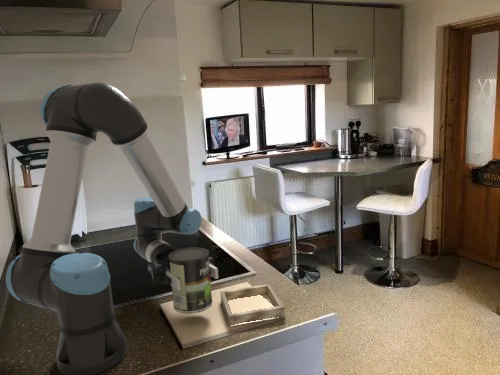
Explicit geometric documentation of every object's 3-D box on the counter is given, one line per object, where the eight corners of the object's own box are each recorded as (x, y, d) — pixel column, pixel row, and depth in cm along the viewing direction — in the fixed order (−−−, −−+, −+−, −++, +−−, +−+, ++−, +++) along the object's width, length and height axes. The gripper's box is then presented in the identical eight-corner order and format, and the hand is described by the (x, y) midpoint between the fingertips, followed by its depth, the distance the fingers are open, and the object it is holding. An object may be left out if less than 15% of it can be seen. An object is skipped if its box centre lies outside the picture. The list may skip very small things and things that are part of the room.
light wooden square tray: (229, 327, 106) (229, 316, 105) (221, 301, 120) (220, 291, 119) (284, 317, 109) (284, 307, 108) (270, 293, 122) (269, 283, 122)
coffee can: (217, 296, 115) (213, 247, 112) (205, 315, 105) (201, 261, 102) (181, 294, 117) (177, 246, 114) (166, 313, 107) (161, 260, 104)
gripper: (198, 258, 131) (237, 281, 113) (126, 278, 118) (157, 306, 100) (196, 235, 129) (235, 254, 111) (123, 252, 117) (154, 277, 99)
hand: (198, 279), depth 106 cm, fingers closed on coffee can, 10 cm apart
